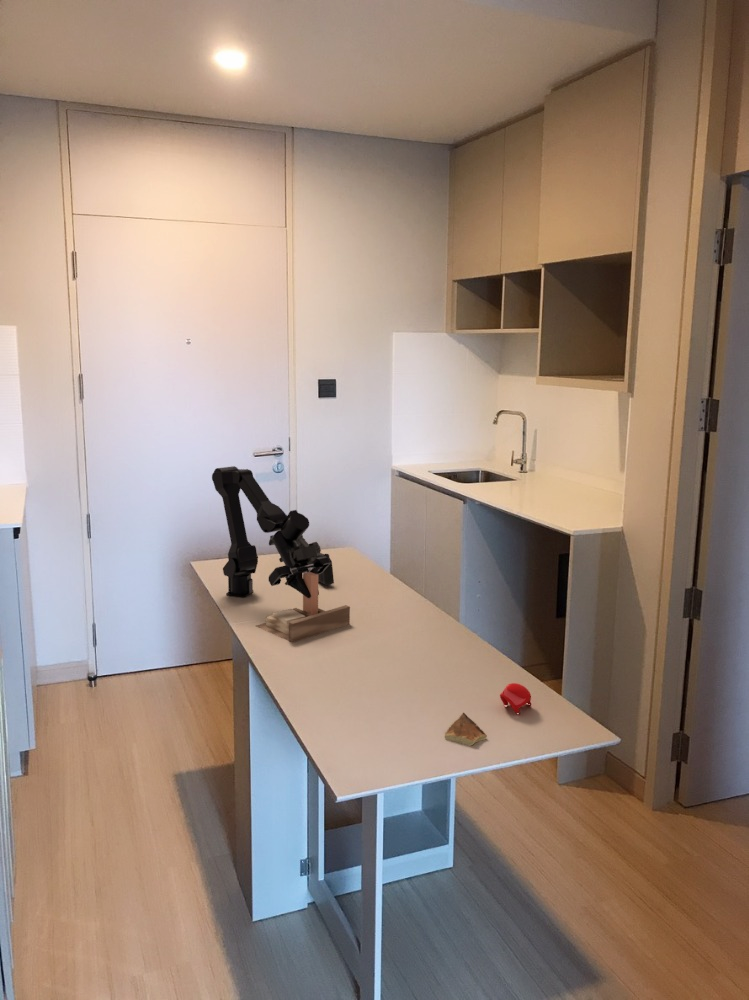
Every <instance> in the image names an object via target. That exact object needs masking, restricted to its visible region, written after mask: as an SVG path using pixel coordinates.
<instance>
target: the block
mask: <svg viewBox="0 0 749 1000" xmlns="http://www.w3.org/2000/svg"><path fill="white" fill-rule="evenodd" d="M302 576H303V580H304V582H305V584H306V586H307V588H308V590H309V592H310V594H311V597H310V598H307V597H306V596H304V595H303V594H302V611H305V612H307V613H310V614H313V615H315V614H318V608H319V595H318V590H319V582H318V574H315V573H312V572H308V573H302Z"/></svg>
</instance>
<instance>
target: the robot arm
mask: <svg viewBox="0 0 749 1000" xmlns="http://www.w3.org/2000/svg"><path fill="white" fill-rule="evenodd" d="M211 480H212V482H213V486H214V489H215V491H216V492H217V493H218V494H219V496H221V498H222V502H223V508H224V512H225V517H226V523H227V528H228V534H229V538H230V546H229V550H228V553H227V557H228V558H227V562H226V563H225V564H224V566H223V567H222V572H223V576H225V577H227V579H228V582H227V583H228V586H227V589H228V591H227V592H226V593H225V594H226V596H229V597H231V596H232V597H240V598H246V597H248V596H249V595H250V594H252V593H253V592H254V589H253V587H254V586H253V585H254V584H253V581H254V580H253V578H252V574H256V570H257V567H258V562H259V560H258V559H259V556H258V553H257V547H256V545H255V544H254V545H253V544H251V543H250V542H249V540H248V536H247V531H246V525H245V521H244V515H243V511H242V504H241V500H240V492H241V490H242V492H243V494H244V496H245V497H246V498H247V500H248V501H249V503H250V504H251V506H252V508H253V509H254V511H255V512H256V522H257V523H258V526H259V528H260V529H261V530H262V532H263V533H265V534H269V533H274V534H273V535H270V536H269V541H268V545H269V546H274V547H275V549H276V550H277V552H278V554H279V556H280V558H279V559H278V560H279V562H280V563H283V564H284V565H282V566H278V567H275V568H274V570H272V572H271V573H270V574H269V575H268V582H269V584H270V586H271V587H274V586H277V585H280V584H281V582H282V579H284V578H285V580H286V582H285V583H284V585H285V586H288V587H291V588H292V589H294V590H296V591H298V592H299V593H300V594H302V596H303V595H304V596H306V597H307V598H310V597H311V594H310V592H309V590H308V588H307V586H306V584H305V582H304V580H303V574H304V573H308V572H312V573H315V574H321V573H323V572H324V570H325V569H326V568H327V567H328V566H329V565H330V564H331V562H330V560H329V558H330V557H329V558H328V557H326V556H323V557H319V558H316V559H315V560H314V561H313V562H312V563H311V564H308V562H310V561H311V558H312V557H314V556H318V554H317V553H322V551H321V550H322V549H321V546H320V545H319V543H318V542H317V541H315V542H311V543H308V544H309V546H308V547H304V548H303V547H302V546H298V545H297V543H296V541H295V540H298V539H299V538H300V537H301V536H302V535H303V534H305V532H306V531H307V530H308V528H309V527H310V521H309V518H308V517H306V516H305V515H304V514H303V513H301V512H300V513H299V512H298V510H297V509H294V510H290V511H289V512H288V514H286V513H285V511H284V510H283V509H282V508H281V507H280V506H279V505H276V504H275V503H273V502H272V501H271V500H270V499H269V498H268V496H267V494H266V493H265V492H264V490H263V489H262V487H261V486H260V484H259V483H258V482H257V480H256V479H255V477H254V474H253V471H252V470H251V469H248V468H246V469H244V468H243V469H242V468H241V469H239V468H238V467H237V466H234V465H233V466H232V465H231V466H226V467H218V468H215V469H214V471H213V473H212V474H211ZM319 591H320V590H319V589H318V596H320V592H319ZM247 595H248V596H247Z"/></svg>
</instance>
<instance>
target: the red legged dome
mask: <svg viewBox="0 0 749 1000" xmlns="http://www.w3.org/2000/svg"><path fill="white" fill-rule="evenodd" d="M499 698H500V700H501V702H502V703H503V706H504V705H508V706H509V705H510V706H511V707H512V709H513V711H514V712H516V713H519V712H520V710H519V709H520V708H522V707H524V706H525V705H527V704H526V703H528V704H530V705H532V702H531V701H532V695H531V693H530V691H529V689H527V687H526V686H524V685H523V684H520V683H516V682H515V683H514V682H512V683H509V684H507V685H506V686H505V688H504V689H503V690H502V692H501V693H500V694H499ZM516 713H515V714H516ZM520 713H521V712H520Z"/></svg>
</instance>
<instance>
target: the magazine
mask: <svg viewBox="0 0 749 1000" xmlns="http://www.w3.org/2000/svg"><path fill="white" fill-rule="evenodd" d="M303 536H304V535H303V534H302V536H301V537H300V538H299V539H298V540H295V541H296V543H297V545H298V546H302V547H303V548H304V547H308V546H309V544H310V543H308V541H306V539H305V538H304V537H303ZM317 554H318V556H314V557H312V558H311V561H310V562H308V564H311V563H312V562H313V561H314V560H315V559H316V558H319V557H323V556H326V557H328V558H329V560H330V562H331V564H330V565H329V566H328V567H327V568H326V569H325V570H324V572H323V573H321V574H318V583H321V584H323V585H327V586H329V585H333V584H334V583H335V581H334V580H335V579H334V569H333V562H332V559H331V558H330V554H329V553H322V552H320V553H317Z"/></svg>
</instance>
